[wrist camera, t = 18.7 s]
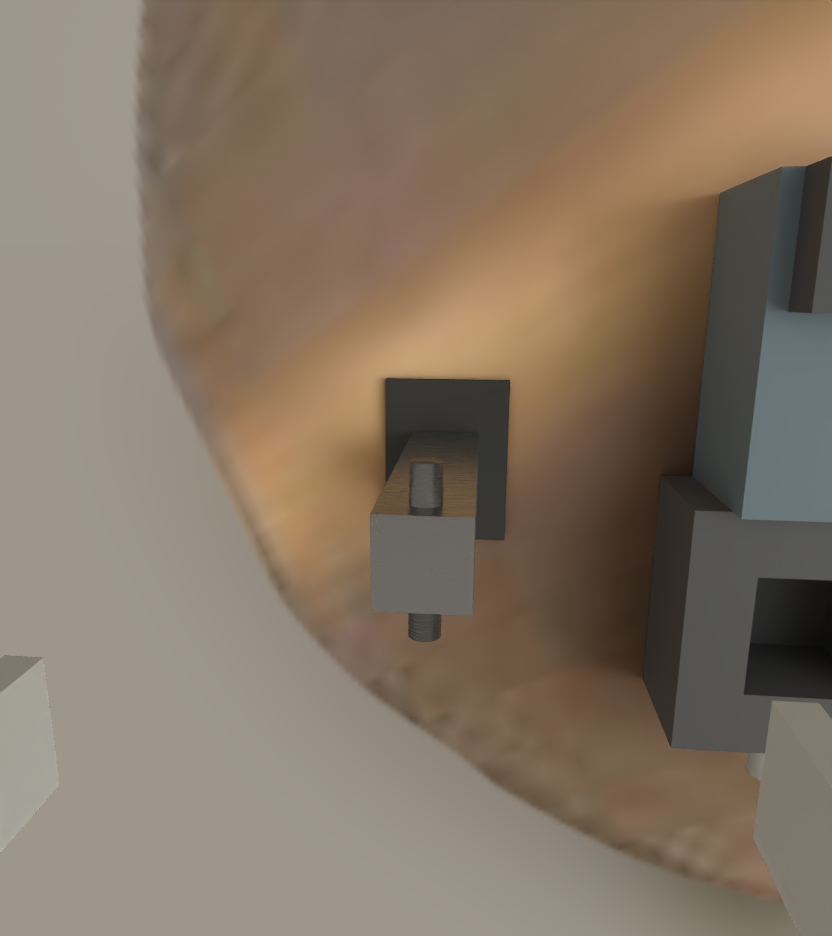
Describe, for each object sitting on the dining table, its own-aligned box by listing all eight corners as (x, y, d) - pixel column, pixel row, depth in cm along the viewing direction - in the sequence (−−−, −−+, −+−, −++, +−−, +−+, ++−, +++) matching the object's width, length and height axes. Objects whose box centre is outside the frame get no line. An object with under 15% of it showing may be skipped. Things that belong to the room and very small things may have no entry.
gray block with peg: (413, 520, 37) (371, 651, 23) (413, 402, 36) (369, 469, 22) (476, 522, 37) (471, 656, 23) (479, 403, 35) (476, 472, 22)
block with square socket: (685, 193, 33) (758, 156, 24) (946, 192, 32) (1121, 153, 23) (638, 729, 39) (682, 855, 30) (854, 742, 38) (964, 876, 29)
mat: (386, 378, 36) (385, 379, 35) (509, 380, 35) (510, 381, 35) (386, 533, 38) (385, 535, 37) (503, 537, 37) (504, 540, 37)
